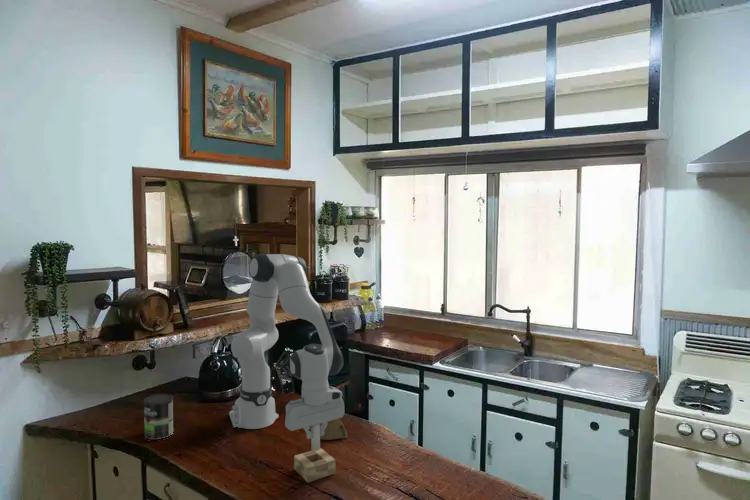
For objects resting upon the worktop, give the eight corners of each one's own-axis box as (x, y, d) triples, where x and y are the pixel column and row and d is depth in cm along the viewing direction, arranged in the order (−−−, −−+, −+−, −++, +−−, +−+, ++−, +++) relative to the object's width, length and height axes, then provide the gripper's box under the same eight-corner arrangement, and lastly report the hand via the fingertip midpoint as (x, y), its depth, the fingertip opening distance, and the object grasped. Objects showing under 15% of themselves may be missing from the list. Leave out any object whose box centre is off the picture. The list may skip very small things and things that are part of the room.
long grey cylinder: (309, 448, 162) (309, 418, 161) (317, 445, 164) (317, 416, 163) (313, 451, 160) (313, 421, 159) (321, 449, 161) (321, 419, 161)
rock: (353, 428, 190) (332, 419, 195) (348, 416, 184) (327, 407, 189) (339, 453, 183) (317, 443, 188) (333, 441, 178) (311, 431, 183)
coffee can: (157, 443, 181) (157, 405, 180) (138, 437, 185) (137, 400, 184) (179, 432, 190) (179, 396, 189) (160, 427, 194) (159, 392, 193)
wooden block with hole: (294, 468, 164) (294, 455, 163) (320, 460, 169) (321, 447, 169) (307, 482, 155) (307, 468, 155) (335, 473, 161) (335, 460, 161)
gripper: (289, 405, 152) (290, 448, 153) (346, 391, 164) (346, 432, 165) (281, 398, 157) (281, 440, 158) (337, 386, 169) (337, 425, 170)
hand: (315, 436), depth 162 cm, fingers closed on long grey cylinder, 3 cm apart
